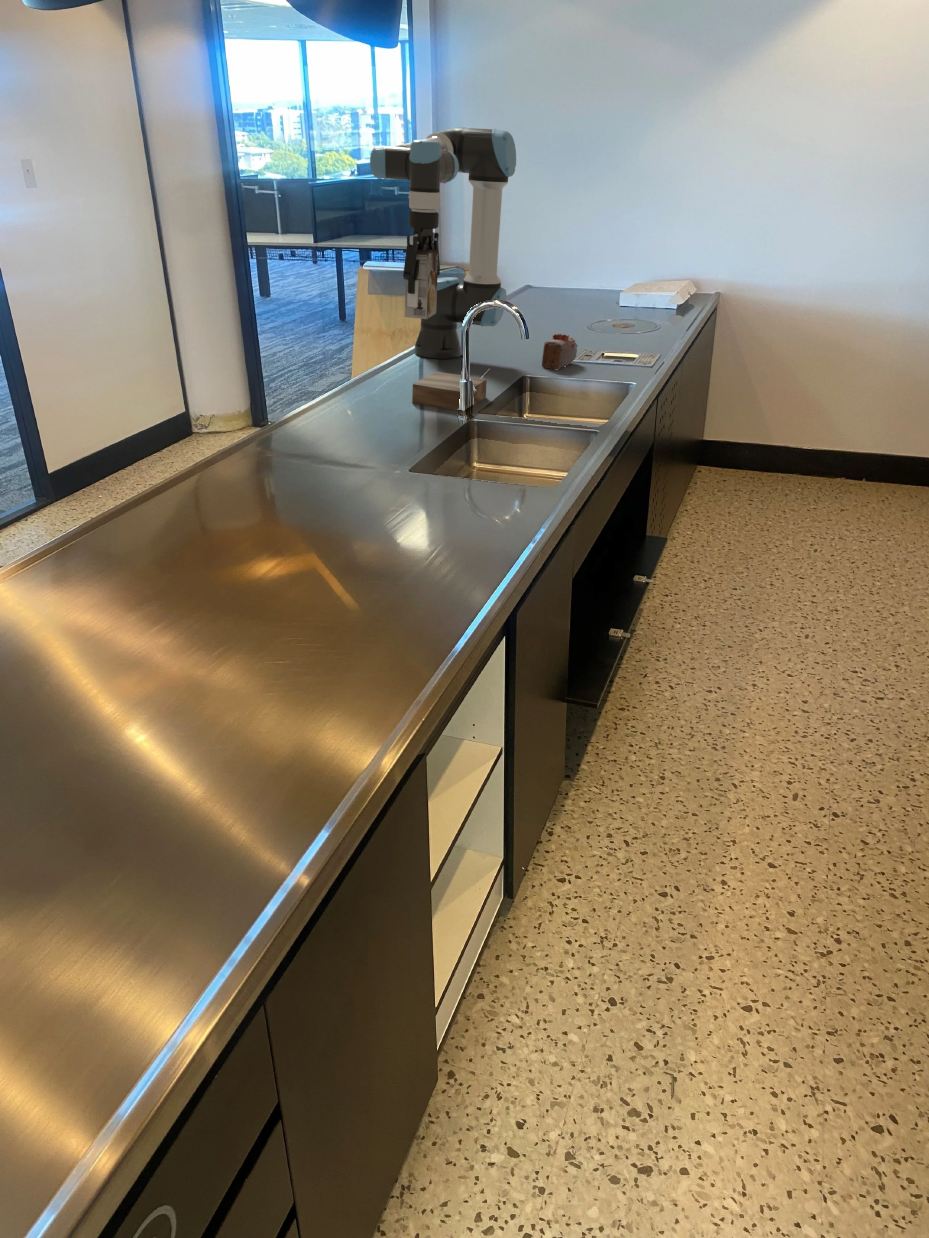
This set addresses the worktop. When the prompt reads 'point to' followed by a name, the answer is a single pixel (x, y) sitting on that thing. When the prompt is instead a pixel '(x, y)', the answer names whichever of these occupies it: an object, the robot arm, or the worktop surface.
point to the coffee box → (425, 286)
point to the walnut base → (444, 390)
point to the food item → (559, 352)
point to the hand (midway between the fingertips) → (421, 304)
